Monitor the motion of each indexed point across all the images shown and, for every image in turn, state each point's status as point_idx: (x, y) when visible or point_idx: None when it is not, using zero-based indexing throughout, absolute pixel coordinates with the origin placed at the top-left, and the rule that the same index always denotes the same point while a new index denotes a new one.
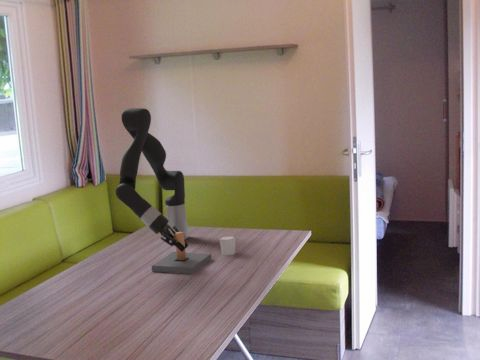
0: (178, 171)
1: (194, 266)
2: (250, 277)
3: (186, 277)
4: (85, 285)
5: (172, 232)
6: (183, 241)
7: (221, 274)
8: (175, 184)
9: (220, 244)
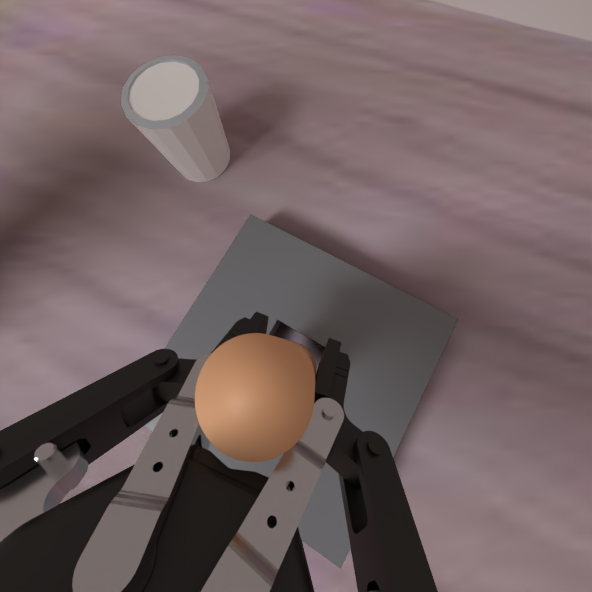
0: None
1: (424, 303)
2: (540, 99)
3: (484, 352)
4: None
5: (198, 500)
6: (299, 347)
7: (477, 198)
8: None
9: (177, 152)
